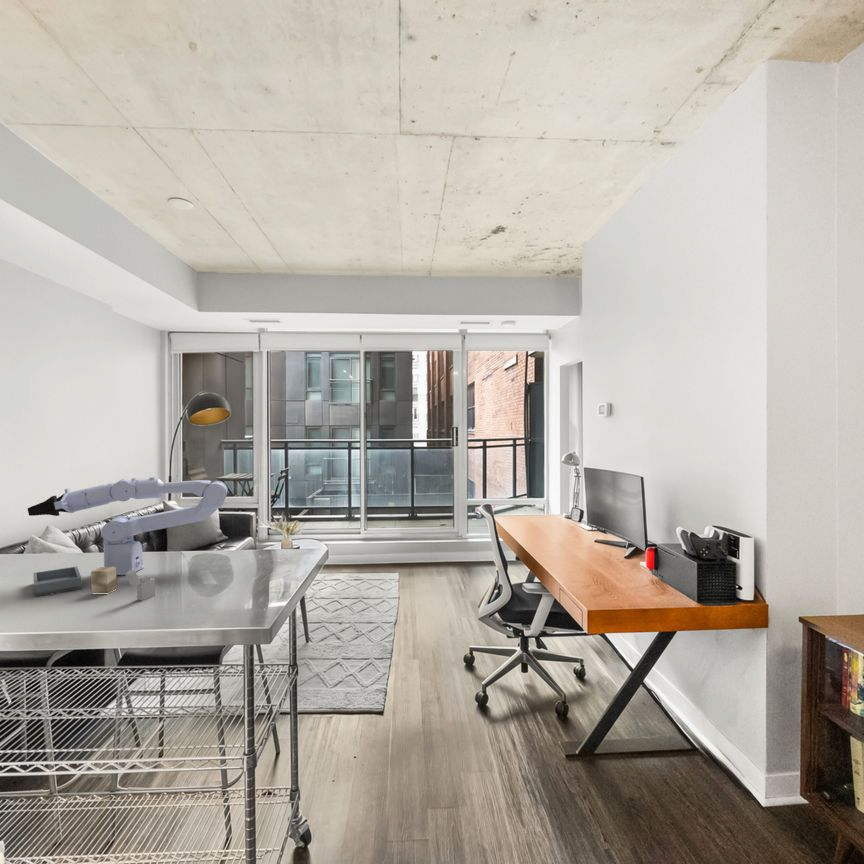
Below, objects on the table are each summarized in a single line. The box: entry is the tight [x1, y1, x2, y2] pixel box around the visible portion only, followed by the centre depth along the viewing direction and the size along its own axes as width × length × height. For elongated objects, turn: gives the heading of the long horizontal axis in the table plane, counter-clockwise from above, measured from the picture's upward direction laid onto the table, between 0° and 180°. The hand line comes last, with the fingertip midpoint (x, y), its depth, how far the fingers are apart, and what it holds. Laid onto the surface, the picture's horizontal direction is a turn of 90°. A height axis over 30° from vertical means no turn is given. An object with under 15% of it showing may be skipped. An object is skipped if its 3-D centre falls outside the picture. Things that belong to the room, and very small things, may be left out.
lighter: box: [124, 570, 156, 601], centre depth 133 cm, size 7×2×8 cm, turn 160°
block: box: [90, 566, 118, 594], centre depth 140 cm, size 4×4×6 cm
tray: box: [33, 566, 83, 598], centre depth 145 cm, size 10×14×3 cm
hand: (34, 510), depth 151 cm, fingers open, 7 cm apart
